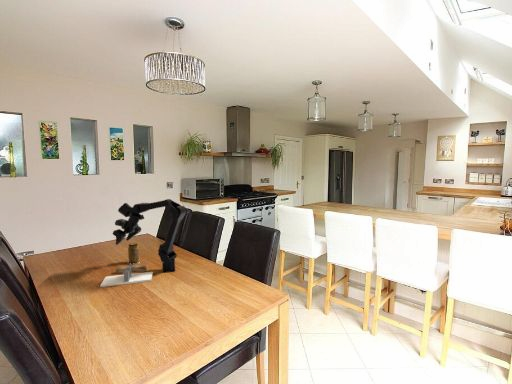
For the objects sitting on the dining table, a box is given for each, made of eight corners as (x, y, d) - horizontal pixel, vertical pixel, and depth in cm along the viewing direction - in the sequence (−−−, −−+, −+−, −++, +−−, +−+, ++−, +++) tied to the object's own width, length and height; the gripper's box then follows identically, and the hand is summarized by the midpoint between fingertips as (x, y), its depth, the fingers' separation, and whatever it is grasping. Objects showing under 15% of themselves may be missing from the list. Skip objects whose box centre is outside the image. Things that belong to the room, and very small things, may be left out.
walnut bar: (146, 269, 164) (146, 264, 163) (146, 271, 161) (146, 266, 161) (117, 272, 159) (116, 267, 159) (116, 274, 156) (115, 269, 156)
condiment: (138, 259, 180) (137, 241, 179) (142, 263, 173) (141, 244, 172) (126, 262, 175) (125, 243, 174) (129, 265, 169) (128, 246, 168)
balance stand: (152, 273, 156) (152, 263, 156) (151, 281, 146) (150, 270, 145) (106, 278, 150) (105, 267, 149) (100, 286, 139) (99, 275, 139)
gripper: (132, 211, 174) (122, 231, 177) (111, 216, 156) (100, 238, 159) (146, 221, 172) (135, 241, 175) (126, 228, 154) (114, 249, 157)
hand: (121, 242), depth 167 cm, fingers open, 9 cm apart
